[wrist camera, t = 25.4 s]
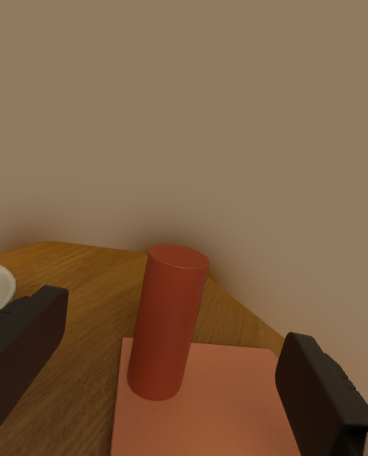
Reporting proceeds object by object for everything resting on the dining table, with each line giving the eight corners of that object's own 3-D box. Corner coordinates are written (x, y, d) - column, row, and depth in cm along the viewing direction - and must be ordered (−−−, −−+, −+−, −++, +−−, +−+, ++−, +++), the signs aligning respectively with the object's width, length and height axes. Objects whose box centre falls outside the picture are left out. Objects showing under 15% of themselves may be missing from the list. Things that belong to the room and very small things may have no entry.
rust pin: (178, 360, 26) (203, 249, 24) (185, 402, 22) (216, 271, 19) (127, 356, 25) (148, 241, 23) (124, 400, 21) (149, 262, 18)
